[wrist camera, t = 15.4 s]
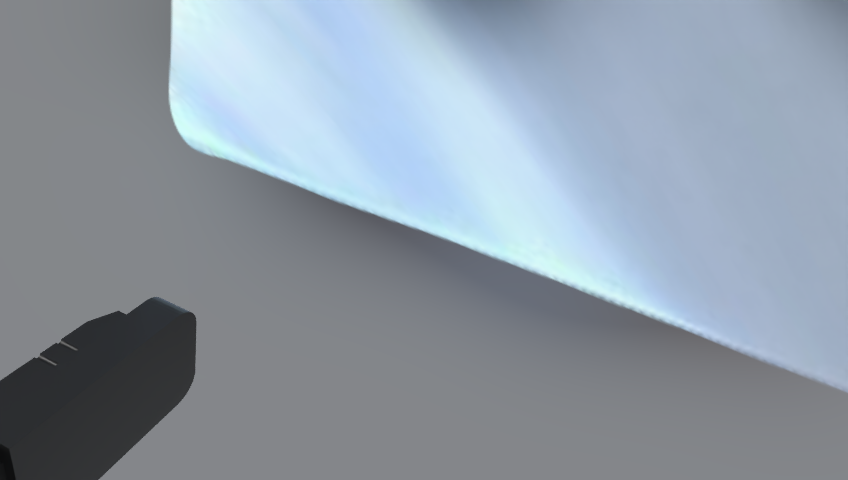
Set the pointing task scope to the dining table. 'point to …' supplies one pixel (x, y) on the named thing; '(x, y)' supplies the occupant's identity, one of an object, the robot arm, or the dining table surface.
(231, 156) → the dining table surface
